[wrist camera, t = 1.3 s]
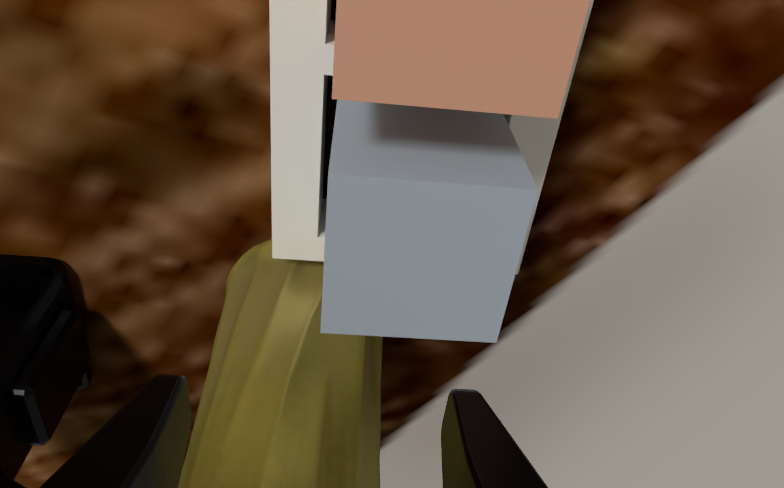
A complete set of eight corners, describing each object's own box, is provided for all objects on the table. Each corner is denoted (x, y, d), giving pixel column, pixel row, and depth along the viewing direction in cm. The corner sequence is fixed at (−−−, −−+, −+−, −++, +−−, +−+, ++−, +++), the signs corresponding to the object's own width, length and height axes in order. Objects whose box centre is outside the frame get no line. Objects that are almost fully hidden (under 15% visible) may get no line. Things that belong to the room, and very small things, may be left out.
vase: (419, 294, 23) (468, 765, 12) (315, 374, 26) (269, 833, 14) (298, 199, 21) (203, 679, 9) (194, 298, 23) (14, 781, 12)
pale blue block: (331, 222, 19) (320, 333, 15) (338, 86, 16) (328, 174, 12) (469, 232, 19) (496, 342, 15) (497, 101, 17) (538, 190, 13)
